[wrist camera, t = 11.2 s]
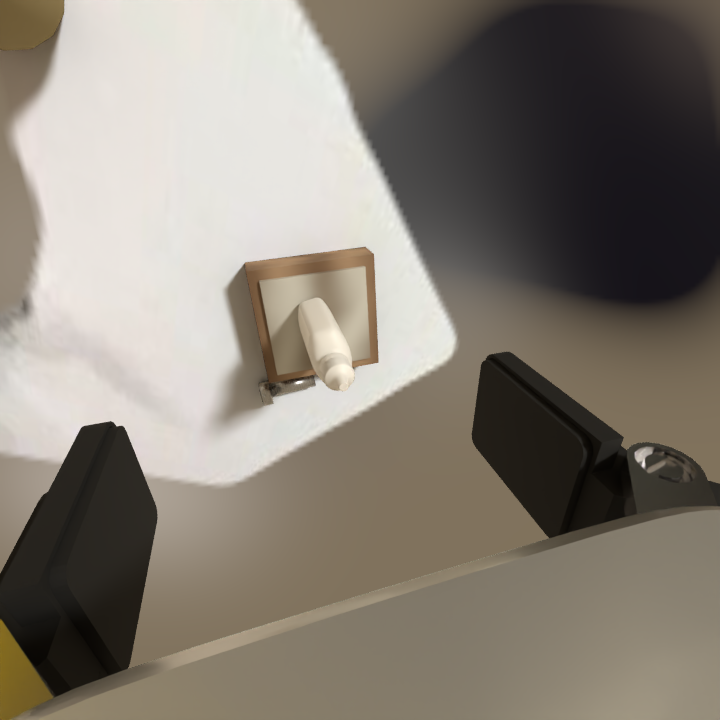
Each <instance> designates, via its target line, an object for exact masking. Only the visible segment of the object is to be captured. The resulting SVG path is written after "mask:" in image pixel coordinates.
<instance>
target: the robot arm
mask: <svg viewBox="0 0 720 720" xmlns="http://www.w3.org/2000/svg"><path fill="white" fill-rule="evenodd" d="M623 438H624V437H623V436H621V435H620V434H619V433H617V432H616V431H615V430H613V429H612V428H611V427H609V426H608V425H607V424H605V423H604V422H603V421H601V420H600V419H599V418H597V417H596V416H595V415H593V414H592V413H591V412H589V411H588V410H587V409H585V408H584V407H583V406H581V405H580V404H579V403H577V402H576V401H575V400H573V399H572V398H571V397H569V396H568V395H567V394H565V393H564V392H563V391H562V390H560V389H559V388H558V387H556V386H555V385H553V384H552V383H551V382H550V381H548V380H547V379H546V378H544V377H543V376H541V375H540V374H539V373H538V372H536V371H535V370H533V369H532V368H531V367H530V366H528V365H527V364H526V363H524V362H523V361H522V360H520V359H519V358H518V357H516V356H515V355H514V354H512V353H510V352H502V353H496V354H491V355H489V356H487V358H486V360H485V361H483V362H482V364H481V370H480V378H479V385H478V393H477V400H476V407H475V415H474V422H473V430H472V440H473V443H474V445H475V447H476V448H477V449H478V451H479V452H480V453H481V454H482V456H483V457H484V458H485V459H486V460H487V462H488V463H489V464H490V466H491V467H492V468H493V469H494V470H495V472H496V473H497V474H498V475H499V477H500V478H501V479H502V480H503V482H504V483H505V484H506V485H507V487H508V488H509V489H510V490H511V492H512V493H513V494H514V495H515V497H516V498H517V499H518V500H519V502H520V503H521V504H522V505H523V507H524V508H525V509H526V510H527V512H528V513H529V514H530V515H531V517H532V518H533V519H534V520H535V522H536V523H537V524H538V525H539V527H540V528H541V529H542V530H543V531H544V533H545V534H546V535H547V536H548V537H549V539H546V540H542V541H539V542H536V543H532V544H529V545H526V546H522V547H519V548H516V549H512V550H509V551H505V552H503V553H499V554H496V555H492V556H489V557H485V558H482V559H479V560H475V561H472V562H469V563H465V564H462V565H459V566H455V567H452V568H449V569H446V570H442V571H439V572H436V573H432V574H429V575H426V576H422V577H419V578H416V579H413V580H410V581H406V582H403V583H400V584H397V585H393V586H390V587H386V588H383V589H380V590H376V591H373V592H370V593H367V594H363V595H360V596H357V597H354V598H350V599H347V600H344V601H340V602H337V603H334V604H331V605H327V606H324V607H321V608H318V609H315V610H312V611H308V612H305V613H302V614H298V615H295V616H292V617H289V618H286V619H282V620H279V621H276V622H273V623H269V624H266V625H263V626H260V627H256V628H253V629H250V630H247V631H244V632H240V633H237V634H234V635H231V636H227V637H224V638H221V639H218V640H215V641H212V642H209V643H206V644H203V645H199V646H197V647H193V648H190V649H187V650H184V651H181V652H178V653H175V654H172V655H169V656H166V657H163V658H160V659H157V660H154V661H151V662H147V663H144V664H141V665H138V666H135V667H132V668H129V669H128V667H129V664H130V660H131V655H132V650H133V644H134V639H135V634H136V629H137V624H138V619H139V613H140V608H141V603H142V597H143V592H144V587H145V582H146V577H147V571H148V566H149V560H150V555H151V550H152V545H153V539H154V535H155V529H156V524H157V509H156V505H155V502H154V500H153V497H152V495H151V492H150V490H149V487H148V485H147V482H146V480H145V477H144V475H143V472H142V470H141V467H140V465H139V462H138V460H137V457H136V455H135V452H134V450H133V447H132V445H131V442H130V440H129V437H128V435H127V432H126V430H125V428H124V427H123V426H117V427H116V425H115V424H114V423H113V422H111V421H110V422H104V423H99V424H93V425H87V426H84V427H82V428H81V429H80V431H79V433H78V435H77V437H76V439H75V441H74V443H73V445H72V447H71V449H70V451H69V452H68V454H67V456H66V458H65V460H64V462H63V464H62V466H61V468H60V470H59V472H58V474H57V476H56V478H55V480H54V482H53V483H52V485H51V487H50V489H49V491H48V492H47V493H45V494H44V495H43V496H42V497H41V499H40V500H39V502H38V503H37V506H36V507H35V509H34V511H33V513H32V515H31V517H30V519H29V520H28V522H27V524H26V526H25V528H24V530H23V532H22V534H21V536H20V538H19V539H18V541H17V543H16V545H15V547H14V549H13V551H12V553H11V554H10V556H9V558H8V560H7V562H6V564H5V566H4V568H3V570H2V572H1V573H0V720H720V484H718V483H715V482H711V481H708V480H707V477H706V475H705V472H704V471H703V469H702V468H701V466H700V465H699V464H698V463H696V461H694V460H693V459H692V458H691V457H689V456H687V455H686V454H684V453H683V452H681V451H678V450H676V449H674V448H672V447H669V446H665V445H662V444H658V443H650V442H642V443H636V444H633V445H631V446H630V447H629V449H627V450H626V449H624V448H623V447H622V446H621V443H622V441H623Z"/></svg>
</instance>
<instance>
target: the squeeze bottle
mask: <svg viewBox="0 0 720 720" xmlns="http://www.w3.org/2000/svg"><path fill="white" fill-rule="evenodd" d="M63 15H64V0H0V49H1V50H4V51H6V50H25V49H33V48H34V47H36V46H38V45H39V44H41V43H42V42H44V41H46V40H47V39H49V38H50V37H52V36H53V35H54V33H55V31H56V29H57V27H58V25H59V23H60V21H61V19H62V17H63Z"/></svg>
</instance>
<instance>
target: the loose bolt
mask: <svg viewBox="0 0 720 720" xmlns="http://www.w3.org/2000/svg"><path fill="white" fill-rule="evenodd" d="M313 386H316V385H315V380H314V376H313V375H310V376H305V377H299V378H294V379H289V380H284V381H278V382H273V383H269V382H268V381H266V382H262V383H259V389H260V394H261V398H262V402H263V405H264V406H267V405H271V404H274V403H273V397H272V396H276V395H281V394H285V393H289V392H293V391H297V390H301V389H305V388H309V387H313Z"/></svg>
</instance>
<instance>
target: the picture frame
mask: <svg viewBox="0 0 720 720" xmlns="http://www.w3.org/2000/svg"><path fill="white" fill-rule="evenodd" d="M245 267H246V275H247V280H248V285H249V289H250V294H251V299H252V304H253V309H254V313H255V318H256V323H257V328H258V333H259V338H260V342H261V347H262V352H263V357H264V362H265V367H266V371H267V376H268V381H269V383H273V382H278V381H284V380H289V379H294V378H299V377H305V376H310V375H315V374H316V372H315V371H314V369H313V366H312V364H311V361H310V358H309V355H308V352H307V349H306V346H305V343H304V340H303V337H302V334H301V331H300V327H299V322H298V308H299V305H300V303H302V302H304V301H306V300H310V299H313V298H320V299H322V300H323V301H324V302H325V304H326V305H327V306H328V308H329V309H330V311H331V313H332V315H333V317H334V319H335V321H336V322H337V324H338V326H339V328H340V330H341V332H342V334H343V335H344V337H345V339H346V341H347V343H348V346H349V348H350V352H351V356H352V367H357V366H362V365H368V364H373V363H378V340H377V316H376V293H375V270H374V254H373V253H372V252H371V251H369V250H368V249H367V248H366V247H361V248H354V249H346V250H338V251H331V252H323V253H315V254H308V255H300V256H292V257H285V258H277V259H269V260H262V261H254V262H246V263H245Z"/></svg>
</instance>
